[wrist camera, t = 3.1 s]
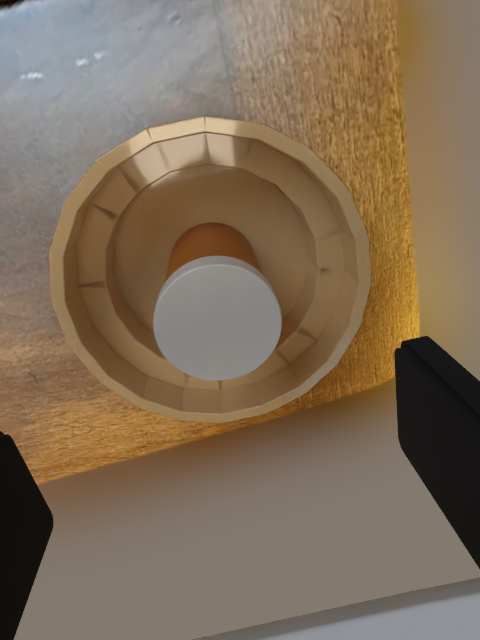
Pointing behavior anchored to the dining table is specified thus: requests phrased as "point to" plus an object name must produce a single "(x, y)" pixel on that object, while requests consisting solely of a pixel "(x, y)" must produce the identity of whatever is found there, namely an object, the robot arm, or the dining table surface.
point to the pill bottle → (216, 306)
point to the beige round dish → (176, 218)
